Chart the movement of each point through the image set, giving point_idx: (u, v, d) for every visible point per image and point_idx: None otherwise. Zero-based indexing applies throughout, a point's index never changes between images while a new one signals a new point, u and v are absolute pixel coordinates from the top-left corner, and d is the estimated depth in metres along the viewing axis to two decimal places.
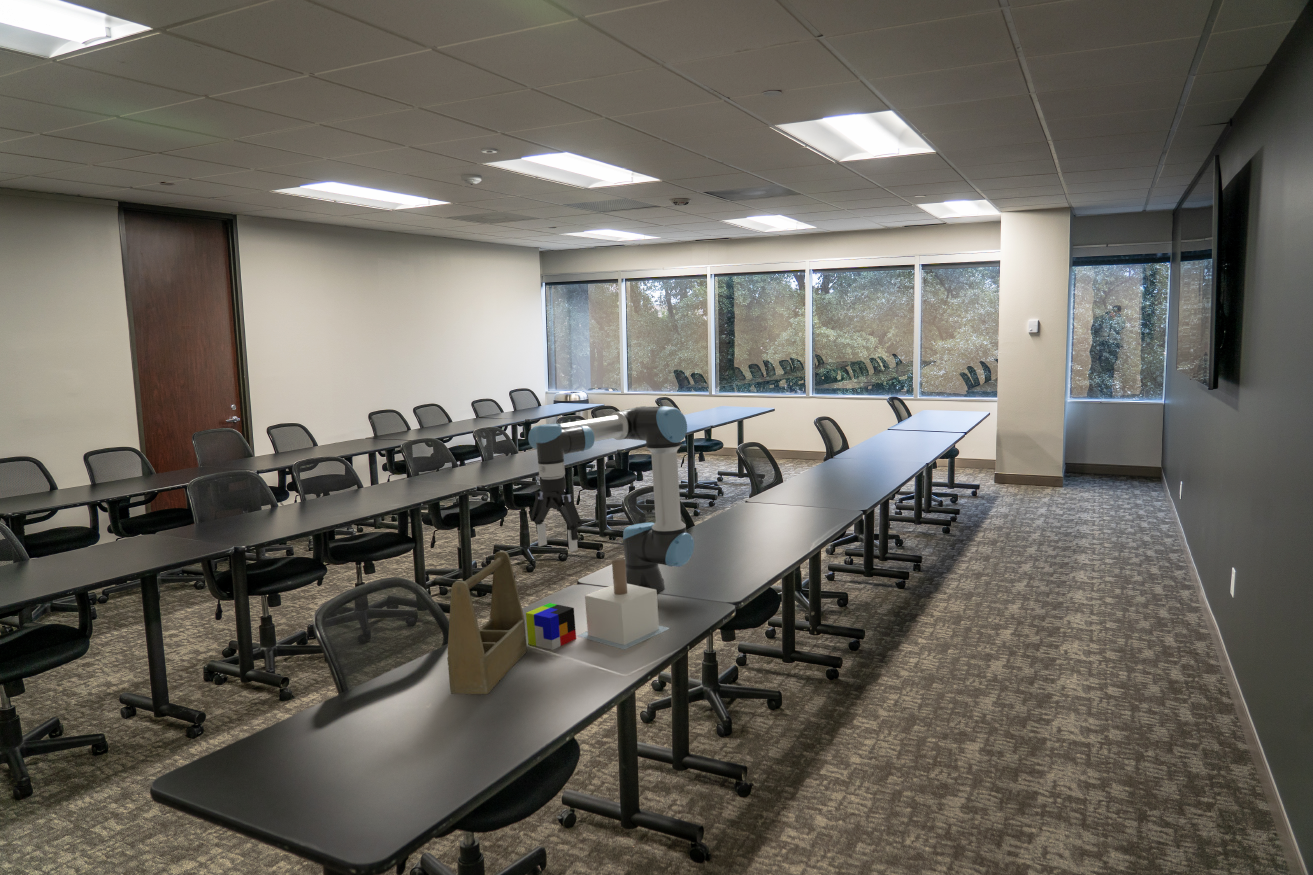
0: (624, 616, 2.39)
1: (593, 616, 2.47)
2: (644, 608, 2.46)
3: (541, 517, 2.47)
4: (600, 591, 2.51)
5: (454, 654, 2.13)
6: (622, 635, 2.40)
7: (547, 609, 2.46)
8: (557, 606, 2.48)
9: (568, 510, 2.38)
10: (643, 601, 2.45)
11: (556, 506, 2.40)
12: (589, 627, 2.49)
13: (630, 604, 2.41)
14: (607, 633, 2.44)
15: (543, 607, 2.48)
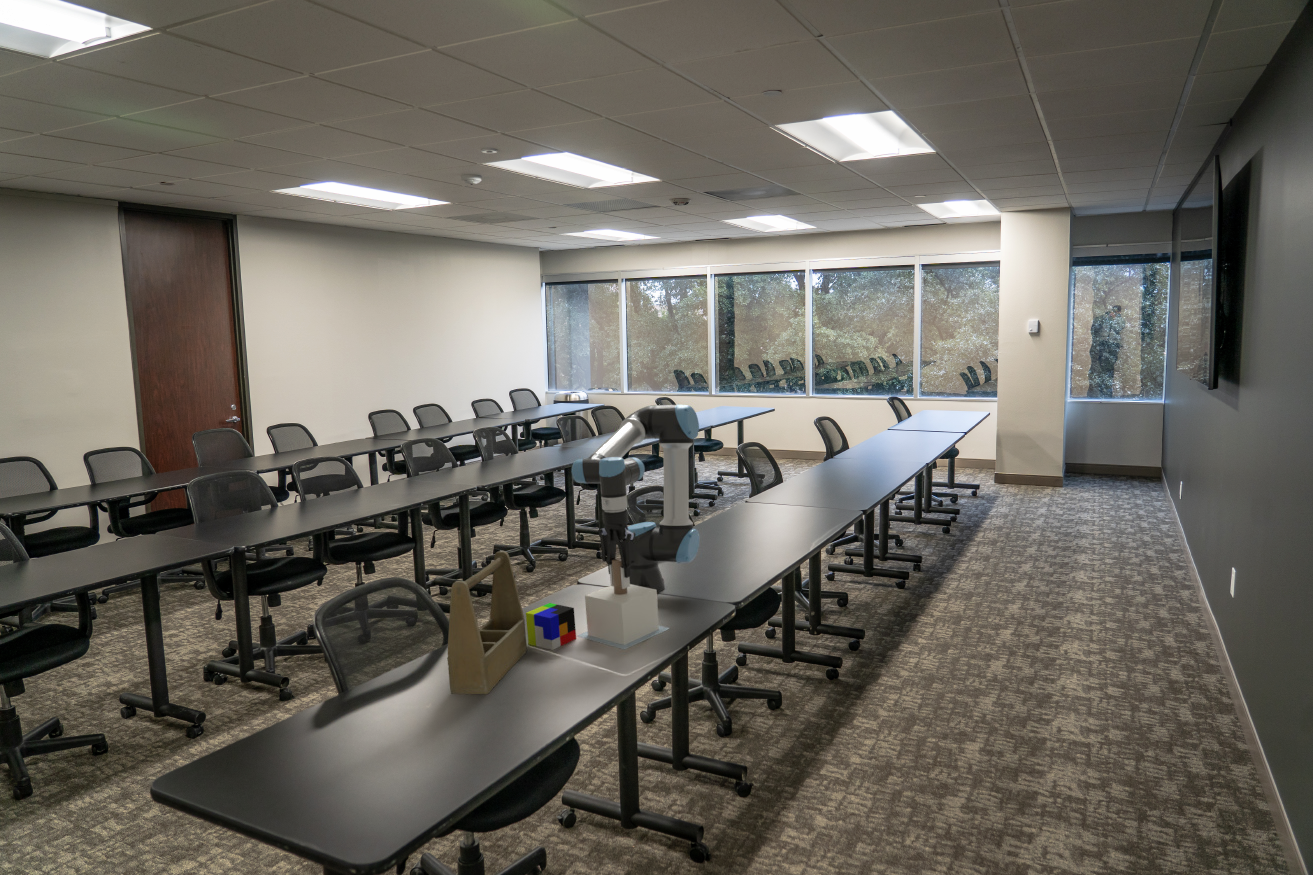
0: (624, 616, 2.39)
1: (593, 616, 2.47)
2: (644, 608, 2.46)
3: (611, 554, 2.48)
4: (600, 591, 2.51)
5: (454, 654, 2.13)
6: (622, 635, 2.40)
7: (547, 609, 2.46)
8: (557, 606, 2.48)
9: (627, 548, 2.43)
10: (643, 601, 2.45)
11: (617, 540, 2.44)
12: (589, 627, 2.49)
13: (630, 604, 2.41)
14: (607, 633, 2.44)
15: (543, 607, 2.48)
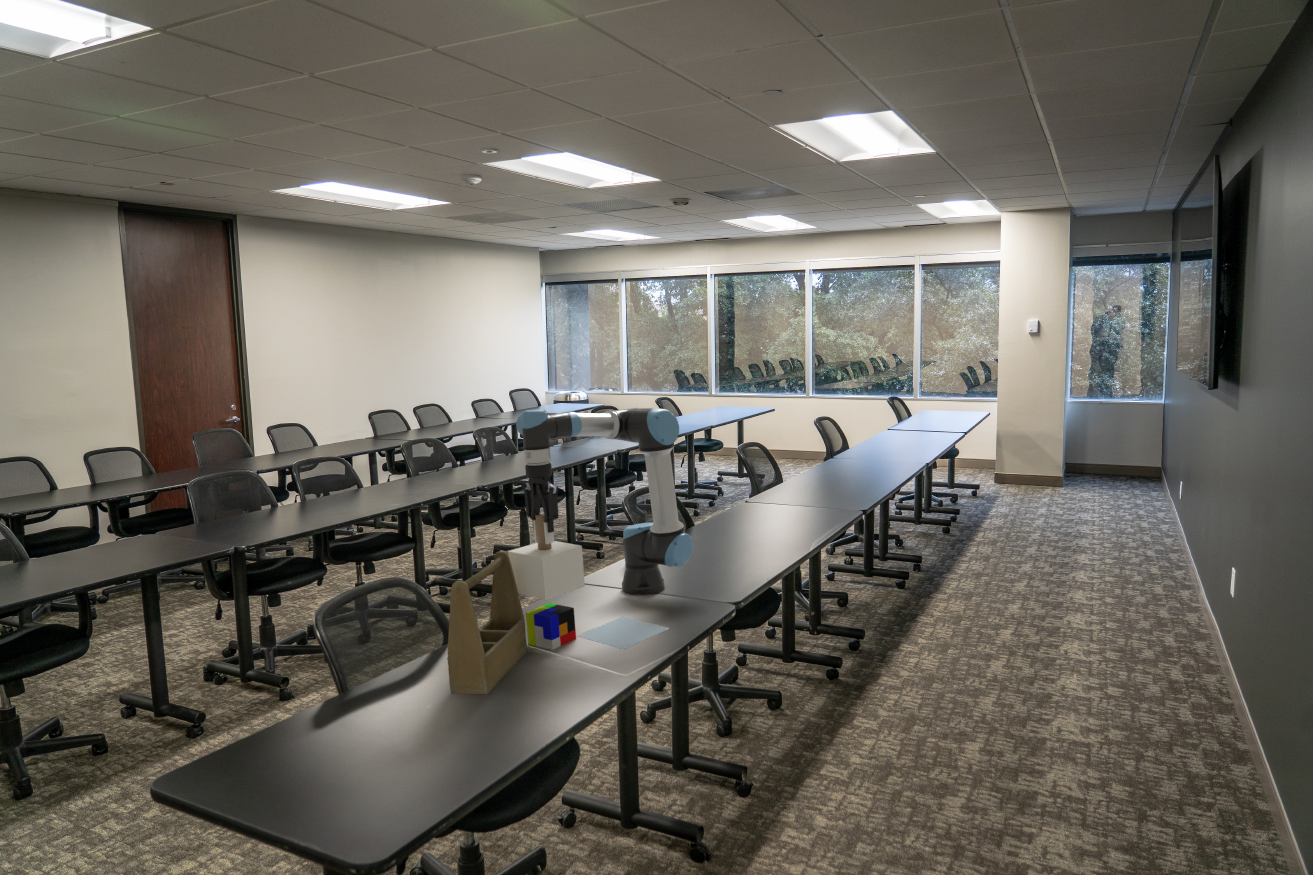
0: (545, 570, 2.33)
1: (516, 572, 2.41)
2: (568, 564, 2.40)
3: (535, 509, 2.43)
4: (524, 547, 2.45)
5: (454, 654, 2.13)
6: (543, 590, 2.34)
7: (547, 609, 2.46)
8: (557, 606, 2.48)
9: (549, 501, 2.37)
10: (566, 556, 2.39)
11: (540, 494, 2.39)
12: None
13: (552, 559, 2.35)
14: (530, 590, 2.38)
15: (543, 607, 2.48)
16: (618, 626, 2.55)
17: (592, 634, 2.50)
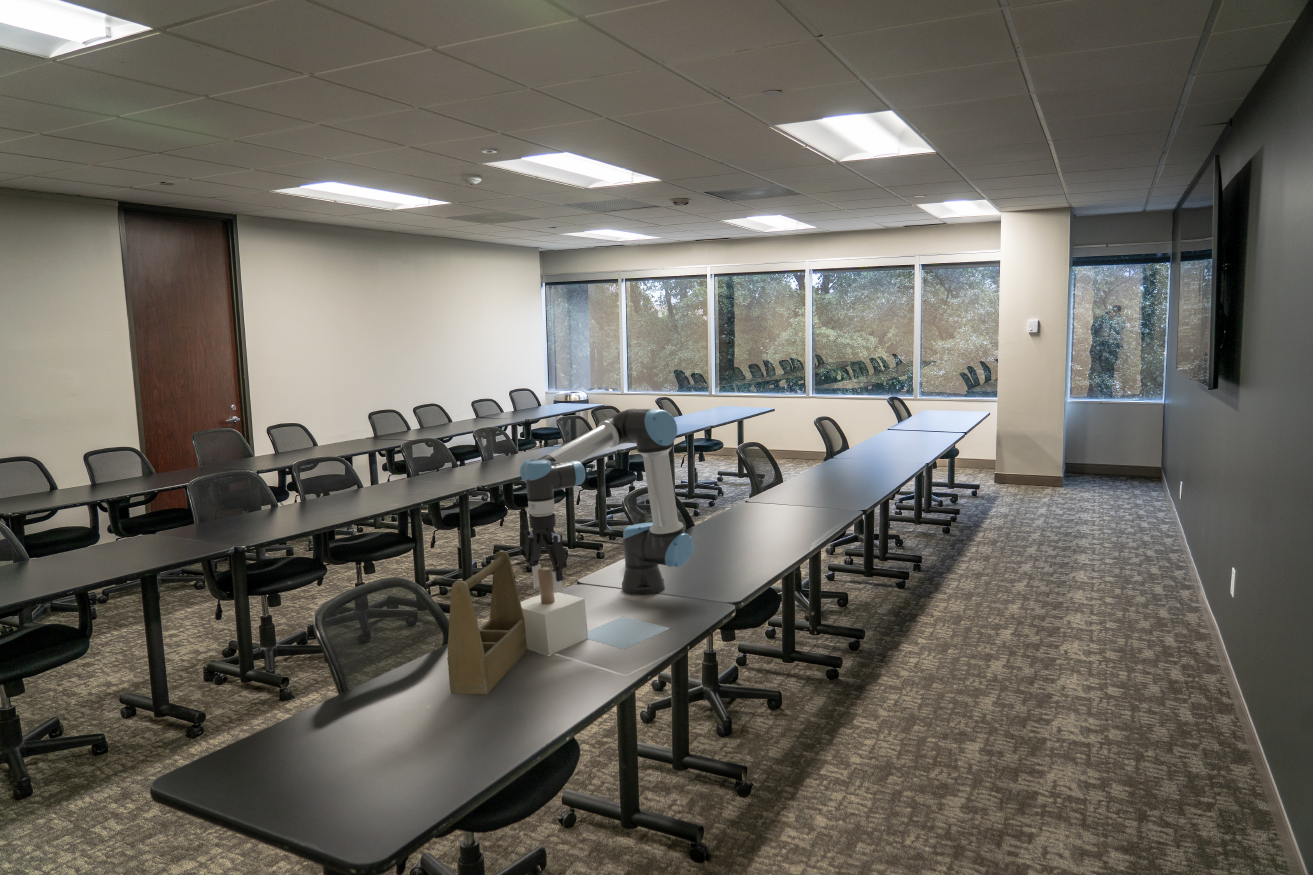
0: (548, 627, 2.35)
1: None
2: (571, 617, 2.42)
3: (535, 557, 2.46)
4: (528, 601, 2.47)
5: (454, 654, 2.13)
6: (547, 646, 2.36)
7: None
8: None
9: (556, 551, 2.38)
10: (569, 610, 2.41)
11: (545, 544, 2.40)
12: None
13: (554, 615, 2.37)
14: (533, 644, 2.40)
15: None
16: (618, 626, 2.55)
17: (592, 634, 2.50)
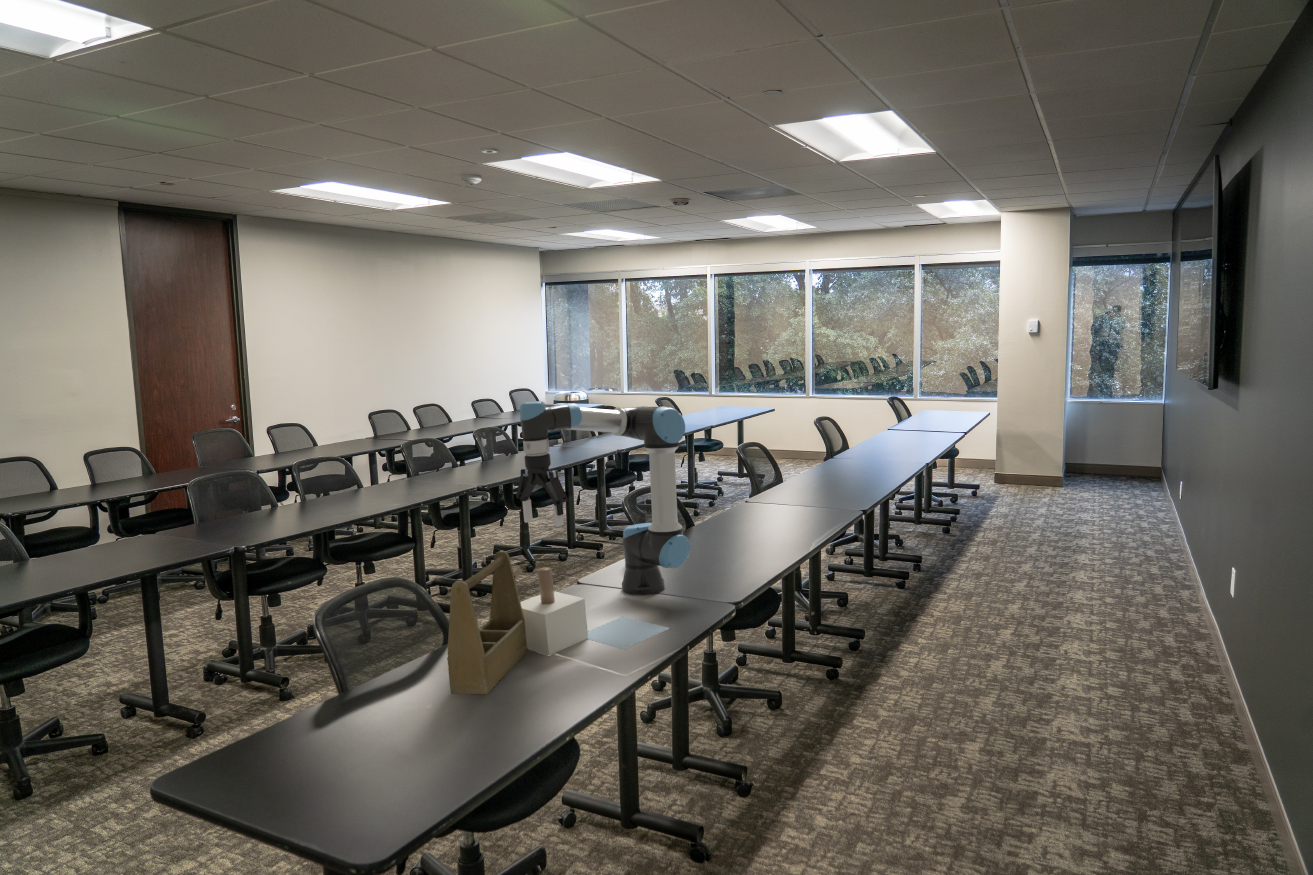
0: (548, 627, 2.35)
1: None
2: (571, 617, 2.42)
3: (526, 494, 2.51)
4: (528, 601, 2.47)
5: (454, 654, 2.13)
6: (547, 646, 2.36)
7: None
8: None
9: (553, 486, 2.42)
10: (569, 610, 2.41)
11: (541, 482, 2.44)
12: None
13: (554, 615, 2.37)
14: (533, 644, 2.40)
15: None
16: (618, 626, 2.55)
17: (592, 634, 2.50)
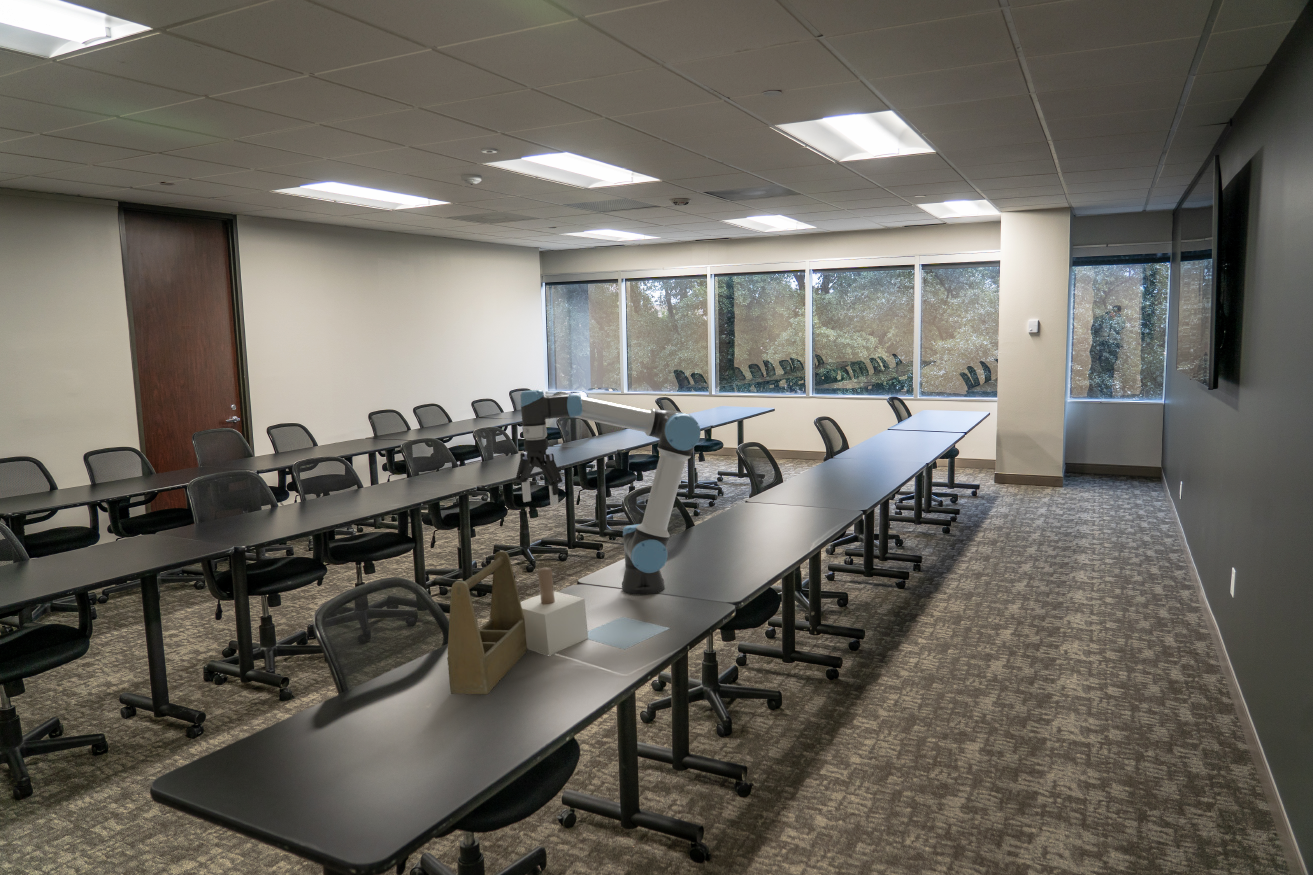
0: (548, 627, 2.35)
1: None
2: (571, 617, 2.42)
3: (525, 475, 2.72)
4: (528, 601, 2.47)
5: (454, 654, 2.13)
6: (547, 646, 2.36)
7: None
8: None
9: (549, 467, 2.63)
10: (569, 610, 2.41)
11: (539, 464, 2.65)
12: None
13: (554, 615, 2.37)
14: (533, 644, 2.40)
15: None
16: (618, 626, 2.55)
17: (592, 634, 2.50)
